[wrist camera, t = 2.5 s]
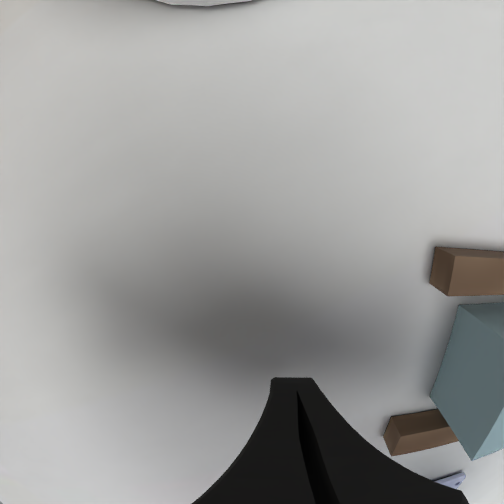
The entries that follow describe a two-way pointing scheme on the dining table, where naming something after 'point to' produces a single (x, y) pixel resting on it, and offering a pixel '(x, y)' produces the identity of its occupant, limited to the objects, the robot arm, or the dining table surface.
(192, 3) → the bottle
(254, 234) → the dining table surface
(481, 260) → the pair of wooden rails
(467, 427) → the painted block
